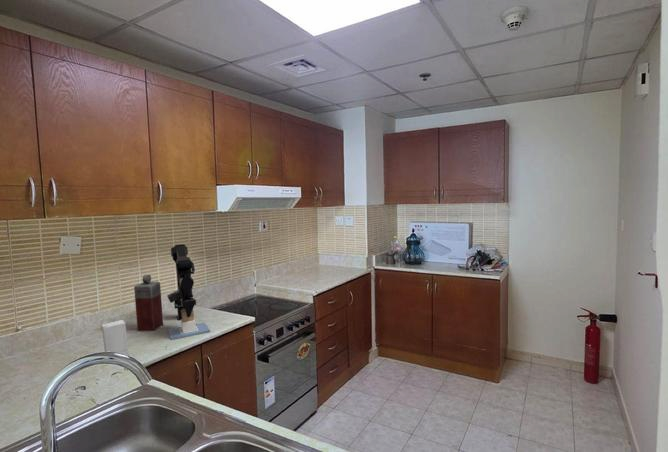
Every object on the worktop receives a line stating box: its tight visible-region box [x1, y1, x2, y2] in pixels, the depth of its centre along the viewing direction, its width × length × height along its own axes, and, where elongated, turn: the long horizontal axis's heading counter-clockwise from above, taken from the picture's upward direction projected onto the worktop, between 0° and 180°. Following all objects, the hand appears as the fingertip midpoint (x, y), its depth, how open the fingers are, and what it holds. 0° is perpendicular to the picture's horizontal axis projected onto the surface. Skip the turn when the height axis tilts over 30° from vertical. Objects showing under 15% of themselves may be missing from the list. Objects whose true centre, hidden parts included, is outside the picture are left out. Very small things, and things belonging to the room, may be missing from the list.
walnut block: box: [181, 309, 195, 322], centre depth 185 cm, size 5×5×5 cm
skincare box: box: [101, 319, 129, 356], centre depth 157 cm, size 8×6×15 cm
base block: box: [180, 318, 197, 333], centre depth 185 cm, size 6×6×5 cm
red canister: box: [133, 274, 164, 332], centre depth 192 cm, size 9×11×28 cm
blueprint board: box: [167, 322, 211, 341], centre depth 185 cm, size 14×18×1 cm
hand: (187, 315), depth 185 cm, fingers open, 6 cm apart
